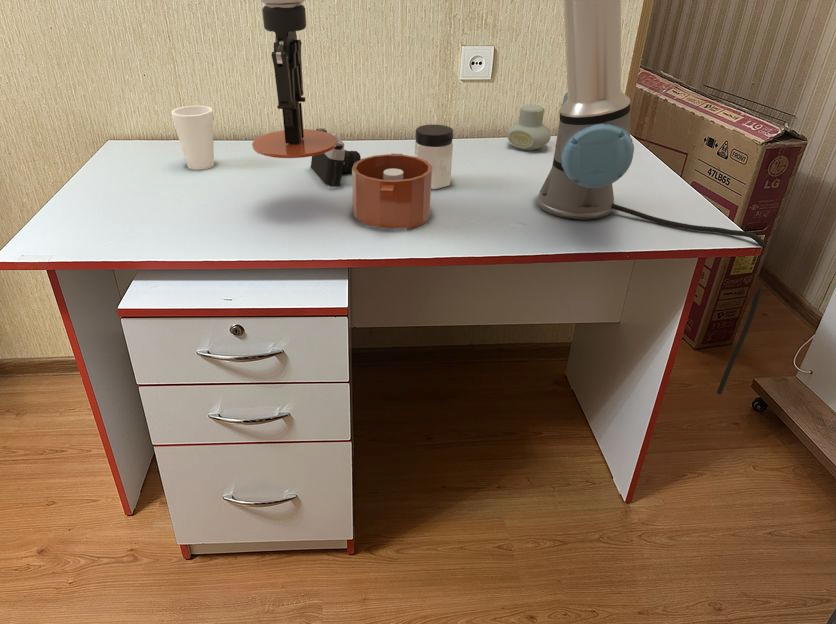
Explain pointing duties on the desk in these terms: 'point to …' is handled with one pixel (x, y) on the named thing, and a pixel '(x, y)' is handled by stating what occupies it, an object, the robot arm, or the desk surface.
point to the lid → (307, 147)
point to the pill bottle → (393, 174)
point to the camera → (333, 163)
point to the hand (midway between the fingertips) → (294, 139)
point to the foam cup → (195, 135)
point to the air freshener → (529, 129)
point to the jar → (436, 152)
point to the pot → (391, 191)
